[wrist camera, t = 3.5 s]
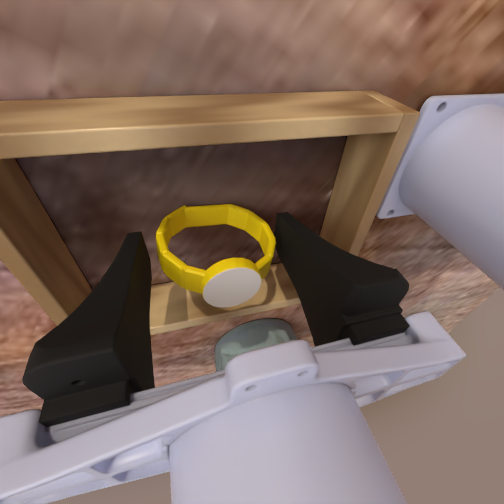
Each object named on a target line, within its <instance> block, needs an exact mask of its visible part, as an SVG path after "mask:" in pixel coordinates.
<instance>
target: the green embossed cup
mask: <svg viewBox="0 0 504 504" xmlns="http://www.w3.org/2000/svg"><path fill="white" fill-rule="evenodd" d="M291 340H297V338H296V336H295V334H294V331H293V329H292V328H291V326H290V325H289V324H288V323H287V322H285V321H283V320H280V319H271V318H270V319H260V320H255V321H251V322H248V323H245V324H242V325H240V326H238V327H236V328H234V329H232V330H230V331H229V332H227V333H226V334H225V335H224V336H223V337H221V339H220V340H219V341H218V342H217V344H216V347H215V363H216V372H218V371H222V370H225V367H226V365H227V363H228V361H229V360H230V359H232V358H233V357H235V356H236V355H238V354H241V353H244V352H247V351H251V350H255V349H259V348H263V347H267V346H271V345H275V344H279V343H283V342H287V341H291Z"/></svg>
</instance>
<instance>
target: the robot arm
mask: <svg viewBox="0 0 504 504" xmlns="http://www.w3.org/2000/svg"><path fill="white" fill-rule="evenodd" d="M440 104H441V105H440ZM439 105H440V106H439ZM438 107H439V108H438ZM437 108H438V109H437ZM411 214H416V215H417V216H418V217H420V218H421V219H422V220H423V221H424V222H425V223H427V224H428V225H429V226H430V227H431V228H432V229H434V230H435V231H436V232H437V233H438V234H439V235H440V236H442V237H443V238H444V239H445V240H446V241H447V242H449V243H450V244H451V245H452V246H453V247H454V248H456V249H457V250H458V251H459V252H460V253H461V254H463V255H464V256H465V257H466V258H467V259H468V260H470V261H471V262H472V263H473V264H474V265H475V266H476V267H478V268H479V269H480V270H481V271H482V272H483V273H485V274H486V275H487V276H488V277H489V278H490V279H492V280H493V281H494V282H495V283H496V284H497V285H499V286H500V287H501V288H502V289H503V290H504V93H501V94H472V95H444V96H432V97H430V98H428V99H427V100H426V101H425V102H424V104H423V106H422V108H421V110H420V116H419V118H418V120H417V122H416V125H415V127H414V129H413V131H412V134H411V136H410V138H409V141H408V143H407V145H406V147H405V150H404V152H403V154H402V156H401V159H400V161H399V163H398V165H397V168H396V170H395V172H394V175H393V177H392V179H391V181H390V184H389V186H388V188H387V190H386V193H385V195H384V197H383V200H382V202H381V204H380V206H379V209H378V211H377V213H376V216H377V217H378V218H379V219H384V218H390V217H397V216H404V215H411ZM274 237H275V238H276V240H275V241H276V245H275V248H276V250H277V253H278V256H279V258H280V260H281V262H282V264H283V266H284V268H285V270H286V272H287V274H288V275H289V277H290V279H291V281H292V283H293V285H294V287H295V289H296V292H297V294H298V297H299V299H300V302H301V305H302V307H303V310H304V313H305V316H306V319H307V322H308V325H309V328H310V331H311V334H312V337H313V341H314V344H315V347H312V348H311V346H310V344H309V342H307V341H304V340H301V339H299V340H291V341H287V342H283V343H279V344H275V345H271V346H267V347H263V348H259V349H255V350H251V351H247V352H244V353H241V354H238V355H236V356H235V357H233V358H232V359H230V360H229V361H228V363H227V365H226V367H225V370H222V371H218V372H214V373H210V374H206V375H202V376H199V377H195V378H191V379H187V380H183V381H179V382H175V383H171V384H167V385H163V386H160V387H156V388H155V385H154V375H153V364H152V351H151V337H150V299H151V280H152V276H151V263H150V258H149V255H148V251H147V248H146V245H145V242H144V238H143V235H142V232H134V233H128V234H127V236H126V238H125V240H124V242H123V244H122V246H121V248H120V250H119V252H118V254H117V256H116V257H115V259H114V261H113V263H112V264H111V266H110V267H109V269H108V270H107V272H106V273H105V275H104V276H103V278H102V279H101V281H100V282H99V283H98V285H97V286H96V287H95V288H94V290H93V291H92V292H91V293H90V294H89V296H88V297H87V298H86V299H85V300H84V301H83V302H82V303H81V304H80V305H79V306H78V307H77V308H76V309H75V310H74V311H73V312H72V313H71V314H70V315H69V316H68V317H67V318H66V319H65V320H63V321H62V322H61V323H60V324H59V325H58V326H57V327H55V328H54V329H53V330H51V331H50V332H49V333H48V334H46V335H45V336H44V337H43V338H41V339H40V340H39V341H37V342H36V343H35V345H34V347H33V350H32V352H31V354H30V357H29V359H28V363H27V366H26V369H25V372H24V376H23V384H24V385H25V386H26V387H27V388H28V389H29V390H31V391H32V392H34V393H35V394H36V395H38V396H39V397H41V398H42V399H44V403H43V407H42V410H40V409H32V410H26V411H22V412H18V413H14V414H10V415H6V416H2V417H0V504H47V503H50V502H54V501H57V500H61V499H64V498H67V497H71V496H75V495H79V494H83V493H86V492H90V491H94V490H98V489H102V488H106V487H110V486H114V485H118V484H122V483H126V482H130V481H134V480H138V479H141V478H145V477H149V476H153V475H157V474H161V473H165V472H169V471H170V479H171V500H172V504H407V502H406V500H405V498H404V496H403V494H402V492H401V490H400V488H399V486H398V484H397V482H396V480H395V478H394V476H393V474H392V472H391V470H390V468H389V466H388V464H387V462H386V460H385V458H384V457H383V454H382V452H381V450H380V449H379V447H378V444H377V442H376V440H375V438H374V436H373V434H372V432H371V430H370V428H369V426H368V424H367V422H366V420H365V419H364V416H363V415H362V412H361V410H360V408H361V407H363V406H366V405H368V404H370V403H373V402H375V401H378V400H380V399H383V398H385V397H388V396H390V395H393V394H395V393H398V392H400V391H403V390H405V389H408V388H411V387H413V386H416V385H419V384H421V383H425V382H428V381H431V380H433V379H437V378H438V377H440V376H441V375H442V374H444V373H445V372H446V371H448V370H449V369H450V368H452V367H453V366H454V365H456V364H457V363H458V362H459V361H461V360H462V359H463V358H464V357H466V354H465V353H464V352H463V350H462V349H461V348H460V347H459V346H458V345H457V343H456V342H455V341H454V340H453V339H452V338H451V337H450V335H449V334H448V333H447V332H446V331H445V329H444V328H443V327H442V326H441V325H440V324H439V323H438V321H437V320H436V319H435V318H434V317H433V316H432V314H431V313H430V312H429V311H423V312H419V313H415V314H411V315H409V316H407V317H405V318H404V317H403V316H402V315H401V314H400V313H402V309H401V307H400V306H399V303H400V302H401V300H402V299H403V298H404V296H405V295H406V293H407V291H408V289H409V283H408V281H407V280H406V279H405V278H404V277H403V276H402V275H401V273H400V272H399V271H398V270H397V269H393V268H390V267H386V266H383V265H379V264H376V263H373V262H370V261H368V260H365V259H362V258H360V257H357V256H355V255H353V254H351V253H348V252H346V251H344V250H342V249H340V248H339V247H337V246H335V245H333V244H331V243H330V242H328V241H326V240H325V239H323V238H322V237H320V236H319V235H317V234H316V233H314V232H313V231H312V230H310V229H309V228H307V227H306V226H305V225H303V224H302V223H301V222H300V221H298V220H297V219H296V218H294V217H293V216H292V215H290V214H289V213H288V212H284V213H277V217H276V224H275V232H274Z"/></svg>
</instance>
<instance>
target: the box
mask: <svg viewBox="0 0 504 504" xmlns="http://www.w3.org/2000/svg"><path fill="white" fill-rule="evenodd" d="M419 116H420V112H418V111H416V110H414V109H412V108H410V107H408V106H405V105H403V104H401V103H399V102H397V101H395V100H393V99H391V98H389V97H386V96H384V95H382V94H380V93H378V92H376V91H374V90H368V91H335V92H299V93H263V94H227V95H190V96H154V97H118V98H82V99H46V100H9V101H0V260H1V261H2V262H3V263H4V264H5V265H6V267H7V268H8V269H9V270H10V271H11V272H12V274H13V275H14V276H15V277H16V278H17V279H18V281H19V282H20V283H21V284H22V285H23V286H24V288H25V289H26V290H27V291H28V292H29V293H30V295H31V296H32V297H33V298H34V299H35V300H36V302H37V303H38V304H39V305H40V306H41V307H42V309H43V310H44V311H45V312H46V313H47V314H48V316H49V317H50V318H51V319H52V320H53V321H54V323H55V324H56V325H57V326H58V325H59V324H60V323H61V322H62V321H63V320H65V319H66V318H67V317H68V316H69V315H70V314H71V313H72V312H73V311H74V310H75V309H76V308H77V307H78V306H79V305H80V304H81V303H82V302H83V301H84V300H85V299H86V298H87V297H88V296H89V294H90V293H91V292H92V289H91V288H90V286H89V284H88V282H87V281H86V279H85V277H84V276H83V274H82V272H81V271H80V269H79V267H78V265H77V264H76V262H75V260H74V259H73V257H72V255H71V253H70V252H69V250H68V248H67V247H66V245H65V243H64V242H63V240H62V238H61V236H60V235H59V233H58V231H57V230H56V228H55V226H54V225H53V223H52V221H51V219H50V218H49V216H48V214H47V213H46V211H45V209H44V208H43V206H42V204H41V202H40V201H39V199H38V197H37V196H36V194H35V192H34V191H33V189H32V187H31V185H30V184H29V182H28V180H27V179H26V177H25V175H24V173H23V172H22V170H21V168H20V167H19V165H18V163H17V162H16V160H15V158H25V157H40V156H54V155H69V154H84V153H99V152H113V151H128V150H143V149H157V148H172V147H187V146H202V145H216V144H231V143H246V142H260V141H275V140H290V139H305V138H319V137H334V136H348V137H347V141H346V144H345V148H344V151H343V155H342V158H341V162H340V165H339V169H338V173H337V176H336V180H335V183H334V187H333V190H332V194H331V197H330V201H329V204H328V208H327V211H326V215H325V218H324V222H323V225H322V229H321V233H320V237H322V238H323V239H325V240H326V241H328V242H330V243H331V244H333V245H335V246H337V247H339V248H340V249H342V250H344V251H346V252H348V253H351V254H353V255H355V256H358V254H359V252H360V249H361V247H362V245H363V243H364V240H365V238H366V236H367V234H368V231H369V229H370V227H371V224H372V222H373V220H374V218H375V215H376V213H377V211H378V209H379V206H380V204H381V202H382V200H383V197H384V195H385V193H386V190H387V188H388V186H389V184H390V181H391V179H392V177H393V175H394V172H395V170H396V168H397V165H398V163H399V161H400V159H401V156H402V154H403V152H404V150H405V147H406V145H407V143H408V141H409V138H410V136H411V134H412V131H413V129H414V127H415V125H416V122H417V120H418V118H419ZM296 304H301V302H300V299H299V297H298V294H297V292H296V289H295V287H294V285H293V283H292V281H291V279H290V277H289V275H288V274H287V272H286V270H285V268H284V266H283V264H282V263H278V264H272V265H270V269H269V272H268V274H267V276H266V277H265V278H264V279H262V283H261V286H260V288H259V290H258V292H257V293H256V294H255V295H254V296H253V297H252V298H250V299H249V300H247V301H246V302H244V303H241V304H239V305H236V306H232V307H223V308H221V307H214V306H212V305H210V304H208V303H207V302H206V301H205V300H204V299H203V296H202V294H201V293H197V292H193V291H189V290H185V288H182V287H180V286H179V285H178V284H176V283H175V282H168V283H163V284H157V285H151V299H150V335H154V334H159V333H164V332H168V331H173V330H178V329H183V328H187V327H192V326H197V325H201V324H206V323H211V322H216V321H220V320H225V319H230V318H235V317H239V316H244V315H249V314H253V313H258V312H263V311H268V310H272V309H277V308H282V307H287V306H291V305H296Z"/></svg>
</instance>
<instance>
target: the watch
mask: <svg viewBox="0 0 504 504" xmlns="http://www.w3.org/2000/svg"><path fill="white" fill-rule="evenodd" d="M220 224H228V225H231V226H234V227H236V228H239V229H242V230H245V231H246V232H248V233H249V234H250V235H251V236H252V237H254V238H255V239H256V240H257V241H259V244H260V246H261V248H262V250H263V253H264V255H265V256H264V257H262V258H261V259H260V260H259V261H257V262H256V263H253V262H252V261H251V260H248V259H245V258H229V259H224V260H222V261H219V262H217V263H215V264H213V265H212V266H211V267H210V268H208V269H207V270H203V269H199V268H195V267H191V266H187V265H186V264H185V263H184V262H182V261H181V260H180V259H179V258H177V257H176V256H175V255H173V254H172V253H171V252H170V251H169V249H168V244H169V241H170V239H171V237H172V236H174V235H175V234H177V233H178V232H180V231H181V230H182V229H184V228H187V227H198V226H209V225H220ZM275 240H276V238H275V237H274V235H273V233H272V231H271V229H270V227H269V225H268V224H267V223H266V222H265V221H264V220H263V219H261V218H260V217H259V216H257V215H256V214H255V213H253V212H252V211H251V212H250V210H248V209H245V208H242V207H239V206H236V205H233V204H221V205H205V206H189V207H186V205H183V207H180V208H178V209H177V210H175V211H173V212H172V213H170V214H169V215H167V216H165V218H163V220H162V222H161V224H160V226H159V228H158V230H157V232H156V244H157V254H158V258H159V261H160V265H161V268H162V271H164V274H166V275H167V276H168V277H169V278H170V279H172V280H173V281H174V282H175V283H176V284H178V285H179V286H180V287H182V288H185V290H189V291H193V292H197V293H201V294H202V296H203V299H204V300H205V301H206V302H207V303H208V304H210V305H212V306H214V307H221V308H223V307H232V306H236V305H239V304H241V303H244V302H246V301H247V300H249V299H250V298H252V297H253V296H254V295H255V294H256V293H257V292H258V290H259V288H260V286H261V283H262V279H264V278H265V277H266V276H267V274H268V272H269V269H270V265H271V262H272V258H273V254H274V250H275V245H276V241H275Z"/></svg>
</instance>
